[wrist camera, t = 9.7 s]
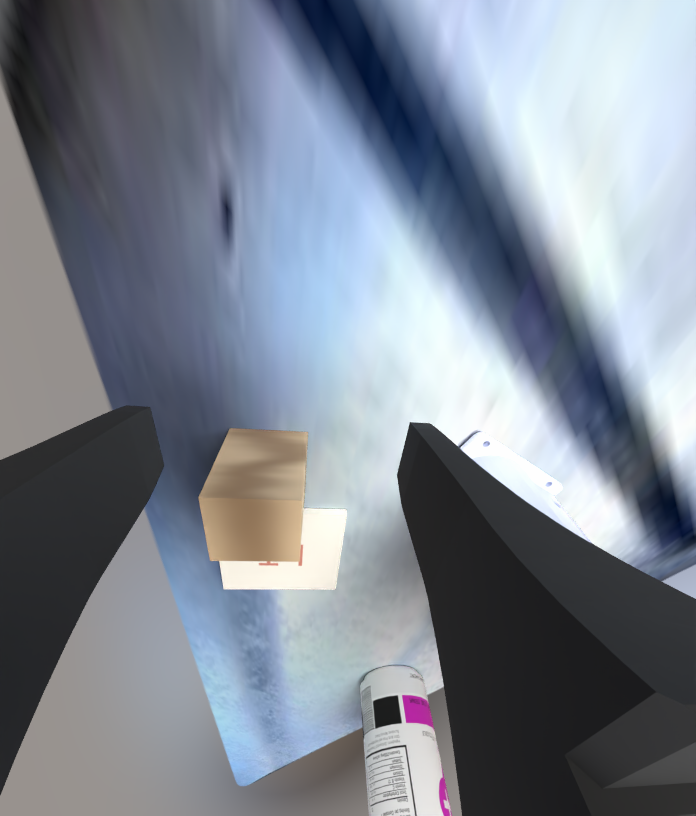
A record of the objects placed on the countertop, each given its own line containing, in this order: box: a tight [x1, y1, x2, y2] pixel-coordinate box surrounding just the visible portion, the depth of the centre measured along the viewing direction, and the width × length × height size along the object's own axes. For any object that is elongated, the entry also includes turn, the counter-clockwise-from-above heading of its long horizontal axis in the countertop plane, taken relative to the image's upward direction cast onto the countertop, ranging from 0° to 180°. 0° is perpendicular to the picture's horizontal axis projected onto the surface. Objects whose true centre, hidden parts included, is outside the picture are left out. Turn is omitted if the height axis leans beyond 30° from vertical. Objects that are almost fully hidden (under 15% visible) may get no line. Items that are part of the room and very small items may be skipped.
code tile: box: [219, 508, 347, 590], centre depth 27 cm, size 10×10×1 cm
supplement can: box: [360, 665, 452, 816], centre depth 35 cm, size 8×8×15 cm
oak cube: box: [198, 428, 308, 562], centre depth 20 cm, size 5×5×6 cm
